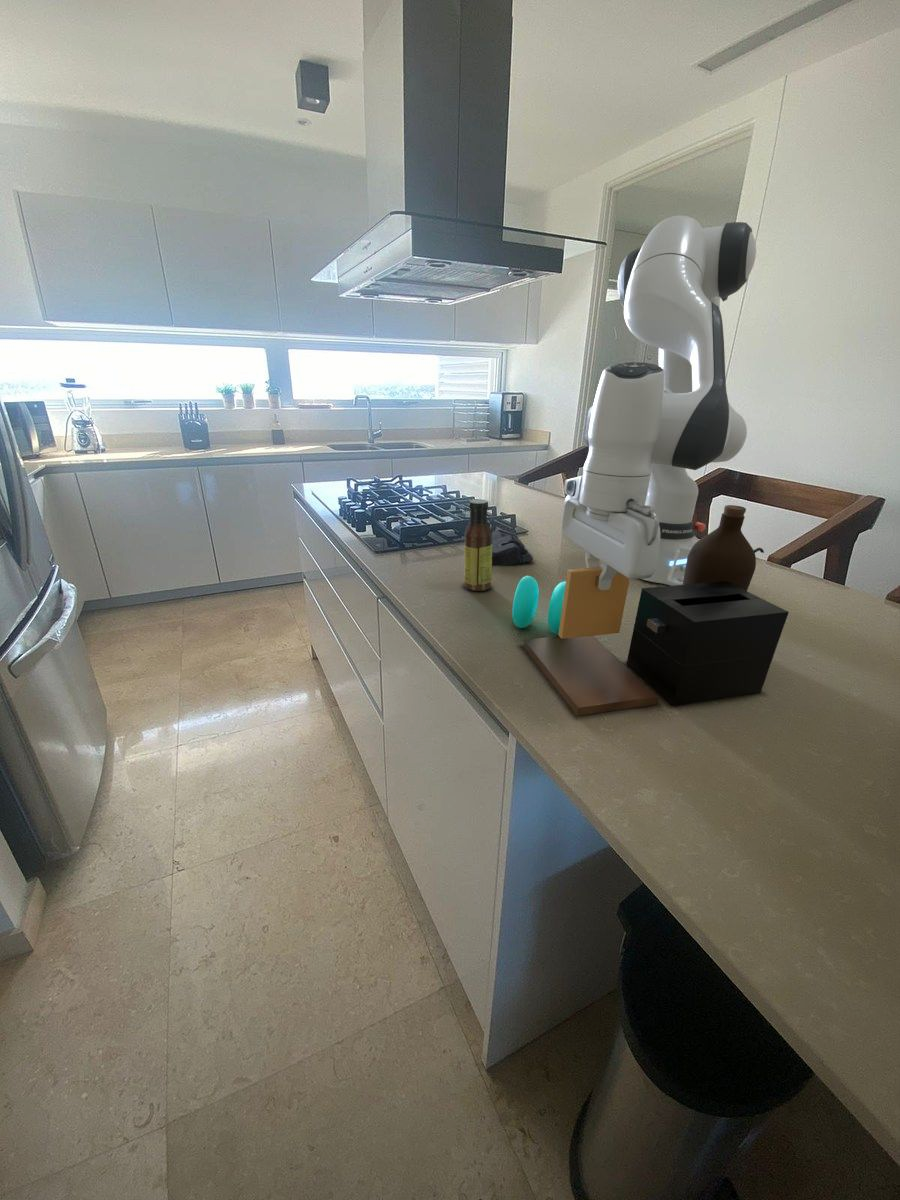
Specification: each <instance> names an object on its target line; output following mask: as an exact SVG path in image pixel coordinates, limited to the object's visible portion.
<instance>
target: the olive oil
mask: <svg viewBox="0 0 900 1200" xmlns="http://www.w3.org/2000/svg"><path fill="white" fill-rule="evenodd" d="M746 512H747V508H746V507H744V506H742V505H735V504H727V505H725V506H724V509H723V513H721V516H720V520H719V524H718V527H717V528H716V529H714V530H713V531H711V532H710V533H708V534H705V536H703V537H702V538H700V539H698V540H699V541H698V542H696V543H695V544H694V546H693V547H692V549H691V550H690V552H689V554H688V557H687V562H686V568H685V573H684V579H683V585H686V584H698V583H710V582H722V581H727V582H729V583H731V584H733V585H735V586H737V587H739V588H741V589H743V590H745V591H747V592H748V590H749V587H750V584H751V582H752V579H753V576H754V574H755V572H756V567H757V558H756V557H757V556H756V553H755V552H754V550H755V549H754V548H753V547H752V546H751V544H750V542H749V541H748V540H747V538H746V536H745V535H744V533H743V531H742V527H743V524H744V521H745V513H746Z"/></svg>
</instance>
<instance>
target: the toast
mask: <svg viewBox="0 0 900 1200" xmlns="http://www.w3.org/2000/svg"><path fill="white" fill-rule="evenodd" d="M602 571H603V568H602V567H601V566H600V567H598V568H587V567H585V568H584V567H583V568H570V569H569V568H568V569H567V571H566V579H565V582H566V585H565V592H564V599H563V607H562V614H561V621H560V628H559V635H558V636H560V637H561V638H562V639H565V638H575V637H585V636H594V637H595V636H604V635H613V634H614V635H615V634H620V632H621V627H622V621H623V616H624V610H625V605H626V600H627V595H628V590H629V584H630V580H631V579H629V578H627V577H626V576H624V575H622V574H621V573H619V572H617V574H616V575H615V576H614V577H613V579H612V582H611V587H610V589H608V590H600V589H599V588H598V587H596V586H595V582H596V576H600V574H601V572H602Z"/></svg>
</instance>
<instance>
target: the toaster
mask: <svg viewBox="0 0 900 1200" xmlns="http://www.w3.org/2000/svg"><path fill="white" fill-rule="evenodd" d="M789 613H790V611H788V610H786V609H784V608H781V607H780V606H778V605H776V604H774V603H771V602H769V601H767V600H766V599H764V598H761V597H760V596H757V595H755V594H753V593H751V592H750V591H748V590H747V591H745V590H743V589H741V588H739V587H737V586H735V585H733V584H731V583H729V582H727V581H722V582H710V583H698V584H686V585H674V586H671V585H663V586H652V587H641V592H640V596H639V600H638V605H637V610H636V614H635V619H634V620H635V621H634V625H633V630H632V635H631V640H630V644H629V649H628V655H627V659H626V663H625V665H627V666H628V668H629V669H630V670H631V671H632V672H633V673H635V674H636V675H637V676H638V677H639V678H641V680H643V682H644V683H645V684H646V685H648V686H649V687H650V688H651V689H653V691H654V692H655V693H656V694H657V695H658V696H660V697H662V699H664V701H666V702H667V703H668V704H669V705H670V706H671V707H676V706H678V707H679V706H683V705H689V704H697V703H704V702H709V701H710V702H711V701H715V700H716V701H717V700H723V699H728V698H729V699H730V698H736V697H742V696H749V695H755V694H761V693H762V690H763V687H764V684H765V681H766V678H767V675H768V673H769V670H770V667H771V664H772V661H773V658H774V656H775V653H776V650H777V647H778V644H779V641H780V638H781V636H782V633H783V630H784V627H785V625H786V622H787V619H788V615H789Z"/></svg>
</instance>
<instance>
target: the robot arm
mask: <svg viewBox="0 0 900 1200" xmlns="http://www.w3.org/2000/svg"><path fill="white" fill-rule="evenodd" d="M756 257H757V244H756V239H755V236H754V234H753V228H752V227H751V226H750V225H749V224H748V223H747V222H743V221H734V222H733V221H731V222H726V223H725V224H724V225H718V226H710V227H704V228H703V227H702V225H701V224H700V223H699V222H698V221H697V220H696V219H695V218H693V217H691V216H688V215H679V214H678V215H673V216H670V217H667V218H665V219H663V220H662V221H660V222H659V223H657V224H655V226H654V227H653V228H652V229H651V230H650V232H649V233H648V235H647V236H646V238H645V240H644V242H643V244H642V245H641V246H639V247H637V248H635V249H634V250H631V251H630V252H629V253H628V254H627V255H626V256H625V258H624V259H623V261H622V262H621V263H620V267H619V271H618V278H617V292H618V296H619V301H620V305H621V306H622V307H623V317H624V321H625V324H626V326H627V328H628V330H629V332H630V333H631V334H632V335H633V336H634V337H635V338H636V339H637V340H639V341H640V342H642V343H643V344H645V345H647V346H650V347H654V348H656V349H657V348H658V364H656V363H655V364H654V363H649V362H640V361H639V362H638V361H637V362H636V361H635V362H630V361H629V362H622V363H621V362H620V363H613V364H611V365H609V366H608V367H606V368H604V369H603V370H602V372H601V375H600V378H599V382H598V385H597V388H596V392H595V396H594V400H593V405H592V406H590V408H589V409H588V412H587V418H586V426H585V427H586V428H585V433H584V442H585V443H586V445H587V447H588V453H587V456H586V460H585V462H584V464H583V469H582V475H579V476H576V477H572V478H569V479H566V480H565V482H564V486H563V487H564V488H563V489H564V490H563V492H564V494H565V495H567V496H566V497H565V499H564V502H563V508H562V509H563V510H562V518H561V519H562V520H561V531H562V535H563V538H565V539H566V540H568V541H570V542H571V543H572V544H574V545H575V546H577V547H578V548H580V549H582V550H583V551H585V553H584V561H585V565H586V567H585V568H598V567H602V568H603V571H602V572H601V574H600V576H596V582H595V586H596V587H598V588H599V589H600V590H608V589H610V587H611V582H612V579H613V577H614V576H615V575H616V574H617V572H619V573H621V574H622V575H624V576H626V577H627V578H629V579H630V580H642V581H647V582H652V583H658V584H663V585H666V586H674V585H683V579H684V573H685V568H686V562H687V557H688V554H689V552H690V550H691V549H692V547H693V546H694V544H695V543H696V542H698V541H699V540H700V539H698V537H697V536H696V531H698V532H699V533H704V531H705V530H706V528H707V525H706V524H705V523H703V522H700V521H697V522H695V521H694V520H693V517H694V513H695V509H696V504H697V500H698V496H699V487H698V484H697V483H696V481H695V480H694V479H693V478H692V477H691V476H690V475H689V474H688V472H687V470H693V471H697V470H699V469H701V468H703V467H705V466H707V465H708V464H710V463H711V464H712V463H724V462H728V461H730V460H732V459H734V457H736V456H737V455H738V454H739V453H740V452H741V450H742V449H743V447H744V445H745V443H746V439H747V435H748V428H747V424H746V421H745V419H744V417H743V415H741V414H740V413H739V412H737V411H736V410H735V409H734V407H732V405H731V404H730V402H729V398H728V393H727V392H728V391H727V379H726V378H727V377H726V357H725V356H726V354H725V338H724V335H725V334H724V323H723V316H722V313H721V312H722V311H721V307H720V305H721V304H720V299H721V300H722V302H725V301H727V300H728V298H729V297H730V296H732V295H733V294H735V293H737V292H738V291H739V290H740V289H742V288H743V286H744V285H745V284H746V283H747V282H748V278H749V276H750V274H751V272H752V270H753V268H754V264H755V261H756ZM665 391H666V392H665ZM753 550H754V552H755V554H756V553H757V552H760V553H761V554H763V553H765V550H764V549H763V548H762V547H756V548H755V549H753ZM600 561H601V563H600Z"/></svg>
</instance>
